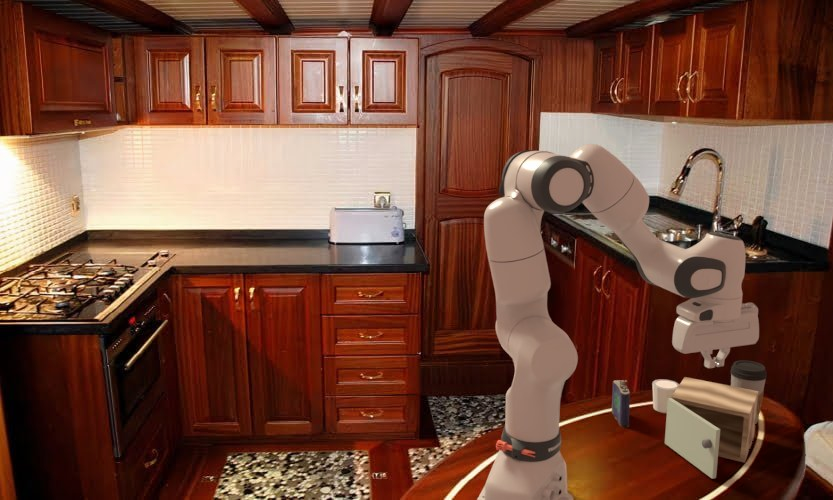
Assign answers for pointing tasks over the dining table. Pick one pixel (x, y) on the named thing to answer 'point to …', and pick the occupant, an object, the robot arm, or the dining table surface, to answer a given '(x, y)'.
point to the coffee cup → (749, 378)
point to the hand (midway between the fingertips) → (713, 366)
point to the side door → (692, 437)
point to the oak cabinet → (723, 413)
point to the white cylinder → (662, 393)
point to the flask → (621, 402)
